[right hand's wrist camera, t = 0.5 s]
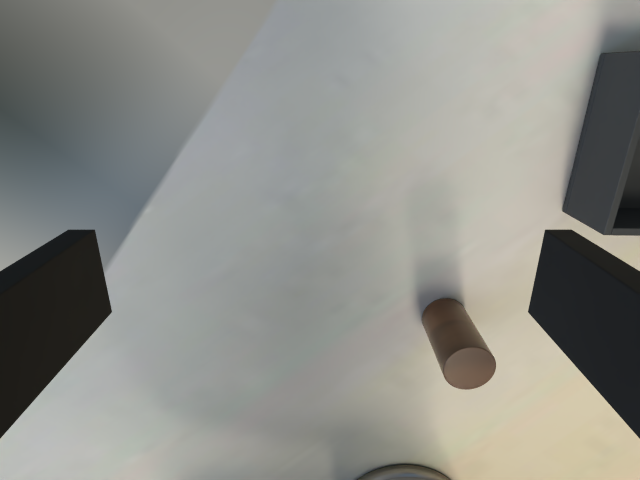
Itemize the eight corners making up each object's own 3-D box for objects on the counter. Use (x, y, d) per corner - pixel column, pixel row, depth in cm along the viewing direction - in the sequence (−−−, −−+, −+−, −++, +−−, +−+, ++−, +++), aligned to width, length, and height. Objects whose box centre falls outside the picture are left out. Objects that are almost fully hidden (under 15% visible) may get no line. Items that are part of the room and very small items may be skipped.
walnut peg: (462, 335, 43) (491, 390, 36) (419, 334, 43) (440, 389, 36) (468, 298, 42) (500, 347, 34) (424, 297, 42) (446, 346, 34)
